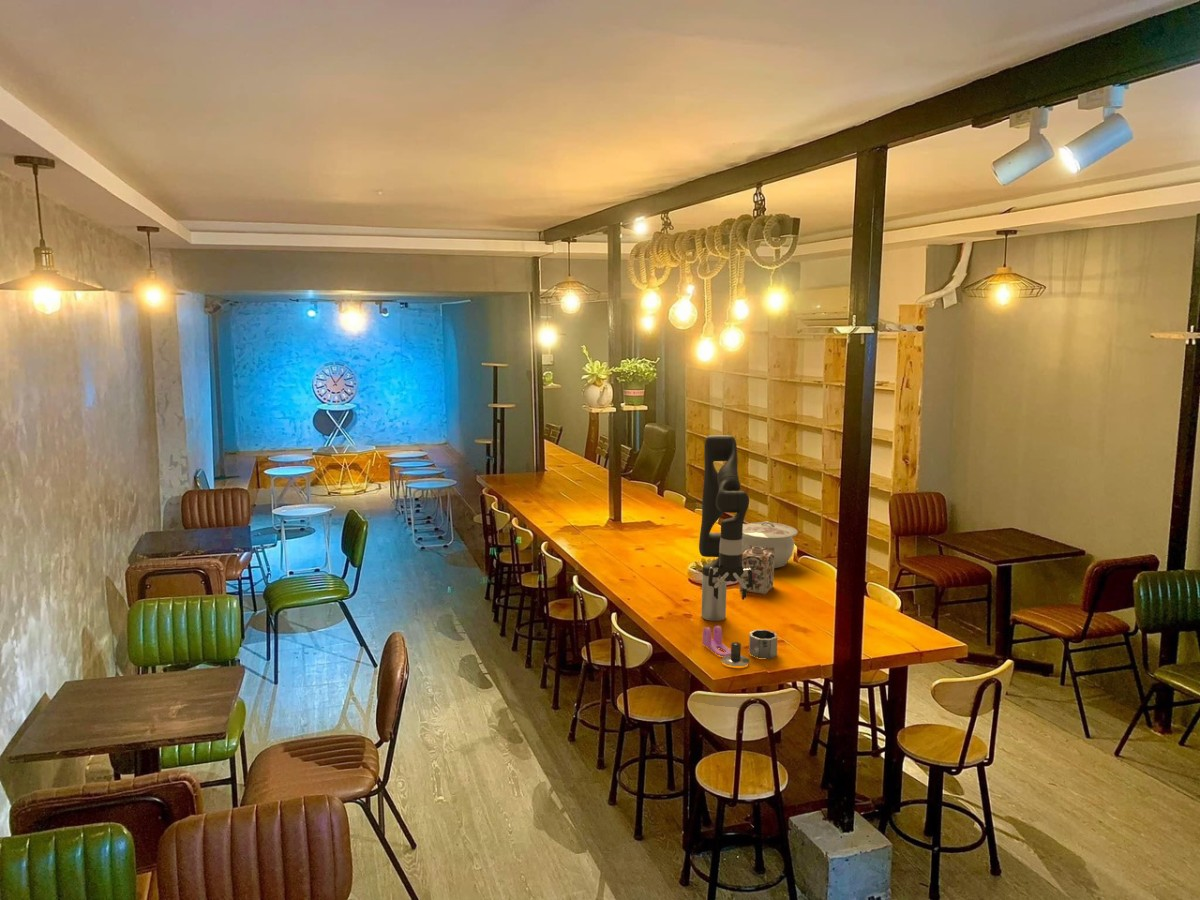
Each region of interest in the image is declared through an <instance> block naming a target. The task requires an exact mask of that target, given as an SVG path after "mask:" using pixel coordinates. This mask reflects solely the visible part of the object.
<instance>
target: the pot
mask: <svg viewBox="0 0 1200 900" xmlns="http://www.w3.org/2000/svg"><path fill="white" fill-rule="evenodd" d="M748 639H749V640H748V641H749V642H748V646H749V647H748V652H750V653H749V655H750V654H751V655H753V656H755V657H758V658H766V659H765V660H768V659H769V660H772V659H775V658H777V657H776V656H778V655H777V654H778V634H777V632H775V631H772V630H769V629H754V630H752V631H750V632H749V638H748ZM774 657H775V658H774ZM771 658H772V659H771Z"/></svg>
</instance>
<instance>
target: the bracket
mask: <svg viewBox="0 0 1200 900" xmlns="http://www.w3.org/2000/svg"><path fill="white" fill-rule="evenodd" d="M722 629H723V628H722V627H721V626H720V625H715V626H713V634H712V630H711V628H710V627H709V626H707V627H703V629H702V645H703V644H704V645H705V646H707V647H708V648H709V649H710V650H712V651H713V652H714V653H716V654H717V655H720V656H726V655H731V648H729V647H728V646H726V645H725V644H724V643H723V642H722V641H723V630H722ZM712 635H713V636H712ZM712 637H713V638H712ZM704 645H703V646H704ZM705 646H704V647H705ZM708 648H707V649H708ZM718 648H720V649H722V650H724V651H725V652H723V651H721V650H720V649H718ZM709 649H708V650H709ZM710 650H709V651H710ZM714 653H713V654H714Z"/></svg>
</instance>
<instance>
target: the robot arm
mask: <svg viewBox="0 0 1200 900" xmlns="http://www.w3.org/2000/svg"><path fill="white" fill-rule="evenodd" d="M703 458H704V475H703V476H704V478H703V488H702V489H703V490H702V503H701V505H702V506H701V507H702V509H701V511H702V512H701V525H700V532H699V533H700V534H699V542H698V551H699V554H700V555H701V556H702V557H705V558H716V559H715V560H713V561H711V562H708V563H706V564H704V565H703V566H702V573H701V574H702V575H701V576H702V579H701V580H702V581H701V618H702V619H704V620H705V621H706V620H707V621H711V622H712V621H713V622H717V621H718V622H719V621H723V620H725V619H726V616H727V615H726V613H727V611H726V610H727V583H728V582H733V583H736V582H738V583H739V585H740V584H741V586H742V590H741V600H743V601H744V600H745V599H746V598H747V595H748V594H747V588H749V587H752V570H751V568H748V569H743V567H742V560H743V541H742V535H743V534H742V533H743V524H744V521H745V517H746V514H747V511H748V508H749V504H750V497H749V495H748V493H747V492H745V491H744V490H741V483H740V479H739V472H738V447H737V442H736V439H735V437H734V436H733V435H727V434H726V435H725V434H724V435H722V434H720V435H719V434H715V435H714V434H713V435H708V436H706V438H705V441H704V457H703ZM714 462H724V464H723V465H722V466H721V467H720V468H719V470H718V472H717V469H716V467H715V464H714ZM725 513H729V514H730V513H733V514H734V513H735V515H734V516H732V517H728V518H725V519H722V520H721V523H720V532H711V531H712V528H713V526H714V524H716V522H717V521H719V519H720V518H721V517H722V516H723V514H725ZM743 573H746V575H747V576H748V583H745V582H744V581H743V579H742V578H741V575H742V574H743Z"/></svg>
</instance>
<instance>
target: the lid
mask: <svg viewBox="0 0 1200 900" xmlns="http://www.w3.org/2000/svg"><path fill="white" fill-rule="evenodd" d="M741 647H742V644H741V643H740V642H738V641H735V642H734V641H733V642H731V643H730V650H731V655H726V656H723V657H722V658H721V663H722V662H723V663H725V664H727V665H731V666H745V665H747V664H749V665H750V659H749V658H748V657H747V656H744V655H742V654H741V651H742V648H741Z"/></svg>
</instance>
